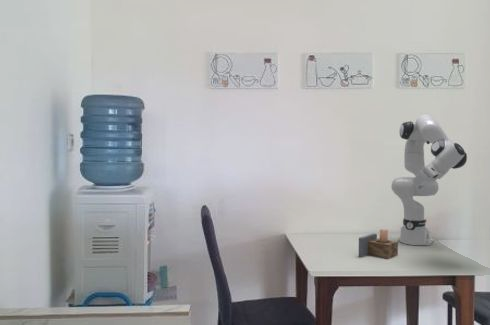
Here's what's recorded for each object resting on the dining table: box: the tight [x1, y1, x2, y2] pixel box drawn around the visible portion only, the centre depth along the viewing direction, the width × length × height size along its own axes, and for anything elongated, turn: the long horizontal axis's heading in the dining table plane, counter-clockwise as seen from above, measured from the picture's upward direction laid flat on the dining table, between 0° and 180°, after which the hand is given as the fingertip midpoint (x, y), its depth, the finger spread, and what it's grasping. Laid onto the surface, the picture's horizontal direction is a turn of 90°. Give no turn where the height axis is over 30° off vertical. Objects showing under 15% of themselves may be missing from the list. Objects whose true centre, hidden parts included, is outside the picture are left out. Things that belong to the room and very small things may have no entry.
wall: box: [358, 233, 378, 258], centre depth 227 cm, size 16×2×10 cm, turn 137°
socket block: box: [367, 237, 399, 260], centre depth 226 cm, size 11×11×7 cm
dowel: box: [379, 228, 389, 243], centre depth 226 cm, size 4×4×11 cm
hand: (415, 188), depth 222 cm, fingers open, 8 cm apart
